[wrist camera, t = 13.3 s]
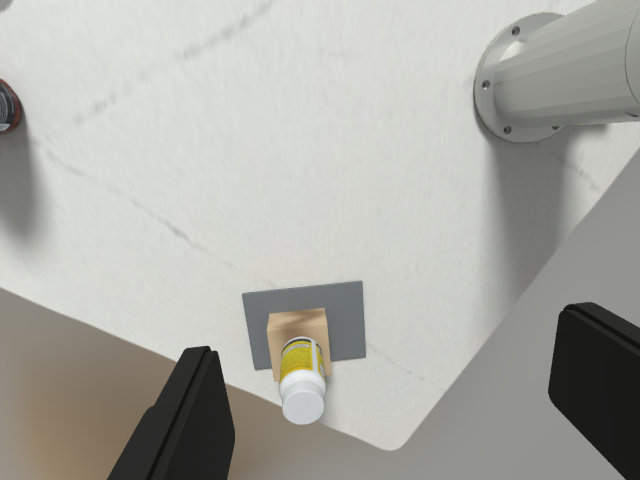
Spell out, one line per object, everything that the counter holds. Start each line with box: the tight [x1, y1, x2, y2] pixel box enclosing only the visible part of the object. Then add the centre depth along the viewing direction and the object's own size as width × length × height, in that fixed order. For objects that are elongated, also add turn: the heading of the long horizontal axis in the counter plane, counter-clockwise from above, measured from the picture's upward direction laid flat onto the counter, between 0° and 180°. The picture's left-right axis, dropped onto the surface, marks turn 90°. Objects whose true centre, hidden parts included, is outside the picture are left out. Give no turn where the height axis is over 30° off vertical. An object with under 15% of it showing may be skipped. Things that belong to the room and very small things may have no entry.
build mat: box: [242, 281, 366, 369], centre depth 42 cm, size 15×11×1 cm
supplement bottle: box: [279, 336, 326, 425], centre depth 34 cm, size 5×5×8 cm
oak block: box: [267, 308, 332, 382], centre depth 40 cm, size 7×7×4 cm
